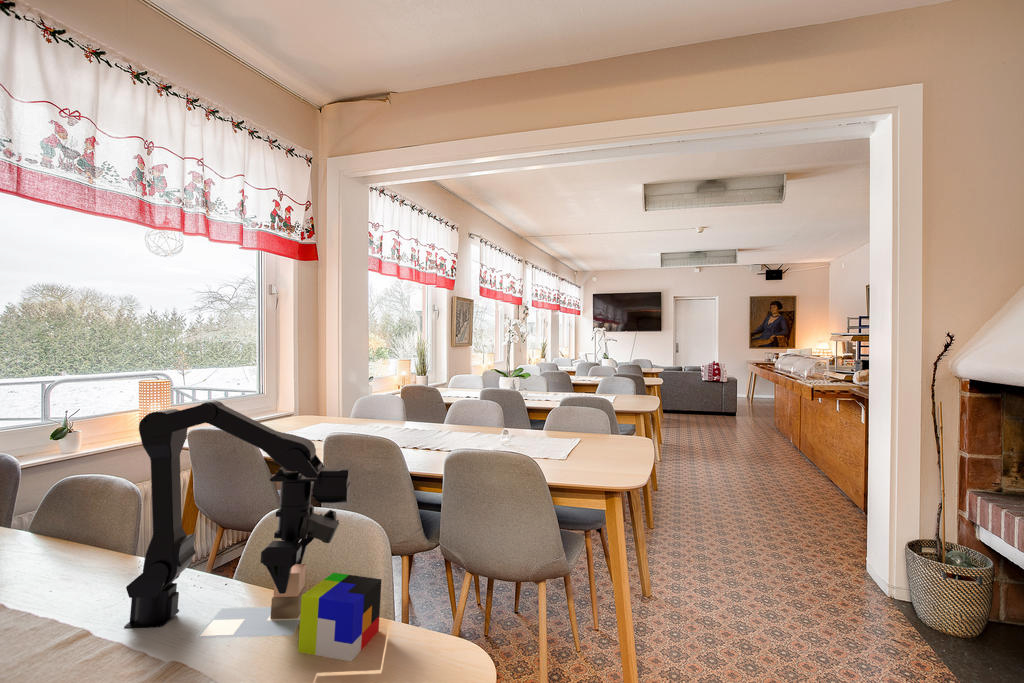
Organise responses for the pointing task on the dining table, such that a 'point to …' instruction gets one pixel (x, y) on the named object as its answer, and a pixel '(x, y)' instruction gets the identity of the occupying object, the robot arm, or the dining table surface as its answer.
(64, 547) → the dining table surface
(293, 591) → the terracotta block
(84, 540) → the dining table surface
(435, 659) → the dining table surface
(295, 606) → the block
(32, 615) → the dining table surface
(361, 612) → the puzzle toy
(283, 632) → the board
